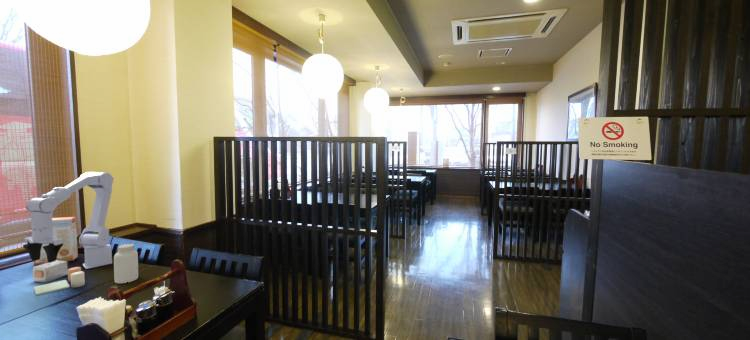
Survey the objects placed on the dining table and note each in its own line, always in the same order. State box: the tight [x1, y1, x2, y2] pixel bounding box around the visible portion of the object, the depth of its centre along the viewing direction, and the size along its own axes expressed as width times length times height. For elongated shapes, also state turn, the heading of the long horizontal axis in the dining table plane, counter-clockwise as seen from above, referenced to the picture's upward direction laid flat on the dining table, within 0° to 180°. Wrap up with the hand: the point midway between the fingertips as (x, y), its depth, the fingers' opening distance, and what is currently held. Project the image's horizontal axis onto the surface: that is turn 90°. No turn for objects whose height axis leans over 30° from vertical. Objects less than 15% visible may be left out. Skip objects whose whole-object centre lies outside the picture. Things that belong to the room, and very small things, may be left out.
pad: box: [33, 279, 71, 297], centre depth 122 cm, size 9×9×1 cm
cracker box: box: [33, 216, 79, 266], centre depth 148 cm, size 14×6×21 cm, turn 115°
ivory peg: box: [70, 270, 86, 288], centre depth 124 cm, size 4×4×5 cm
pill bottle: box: [113, 243, 139, 284], centre depth 130 cm, size 8×8×15 cm
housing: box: [32, 260, 69, 284], centre depth 130 cm, size 9×6×6 cm
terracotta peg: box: [67, 266, 82, 283], centre depth 129 cm, size 4×4×5 cm
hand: (43, 261), depth 123 cm, fingers open, 7 cm apart
